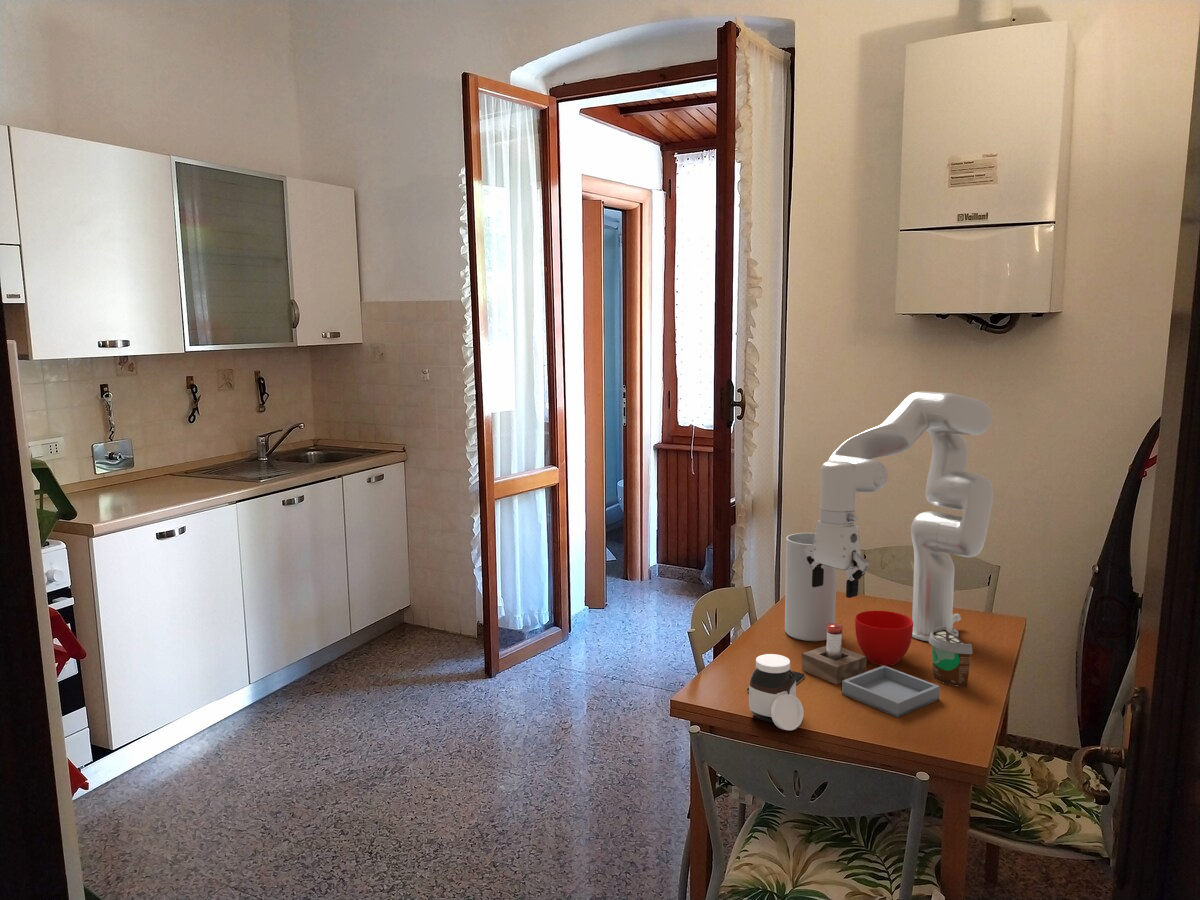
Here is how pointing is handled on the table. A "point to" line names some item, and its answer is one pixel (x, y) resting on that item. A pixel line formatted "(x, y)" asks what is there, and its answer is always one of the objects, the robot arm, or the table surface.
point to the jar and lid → (775, 692)
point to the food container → (950, 657)
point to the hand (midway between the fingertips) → (834, 591)
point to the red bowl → (883, 635)
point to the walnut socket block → (833, 665)
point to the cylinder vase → (807, 593)
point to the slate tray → (891, 690)
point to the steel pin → (834, 641)
